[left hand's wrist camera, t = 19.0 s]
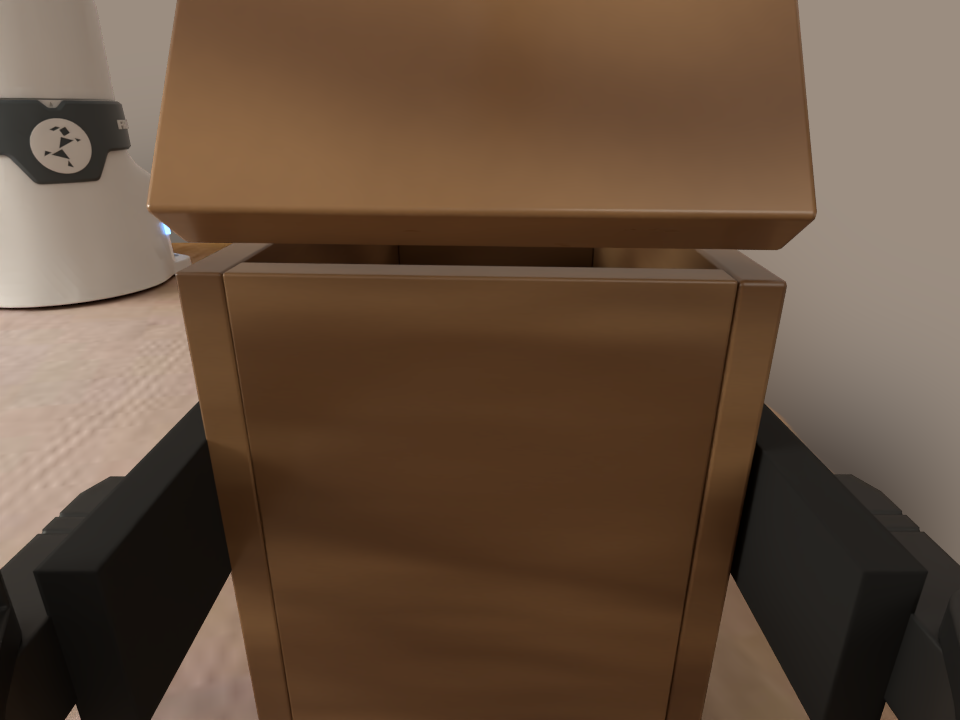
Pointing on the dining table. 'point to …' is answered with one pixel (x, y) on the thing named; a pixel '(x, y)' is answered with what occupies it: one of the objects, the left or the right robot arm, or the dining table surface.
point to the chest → (480, 471)
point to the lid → (485, 123)
